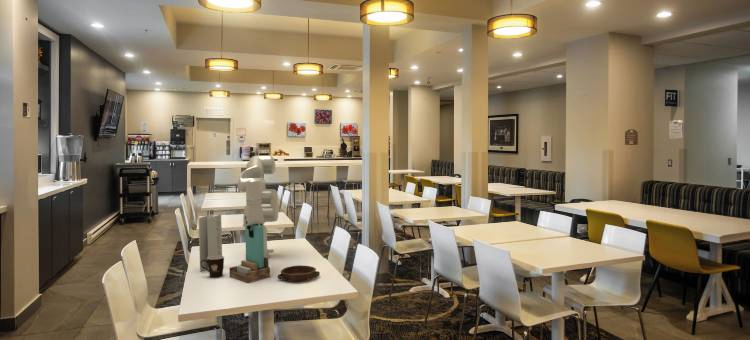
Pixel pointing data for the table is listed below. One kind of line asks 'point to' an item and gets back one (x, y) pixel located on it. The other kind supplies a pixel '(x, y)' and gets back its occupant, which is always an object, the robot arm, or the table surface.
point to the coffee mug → (215, 265)
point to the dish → (298, 273)
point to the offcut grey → (243, 270)
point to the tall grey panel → (209, 238)
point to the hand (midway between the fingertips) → (254, 236)
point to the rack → (251, 273)
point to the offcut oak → (249, 265)
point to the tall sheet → (255, 246)
